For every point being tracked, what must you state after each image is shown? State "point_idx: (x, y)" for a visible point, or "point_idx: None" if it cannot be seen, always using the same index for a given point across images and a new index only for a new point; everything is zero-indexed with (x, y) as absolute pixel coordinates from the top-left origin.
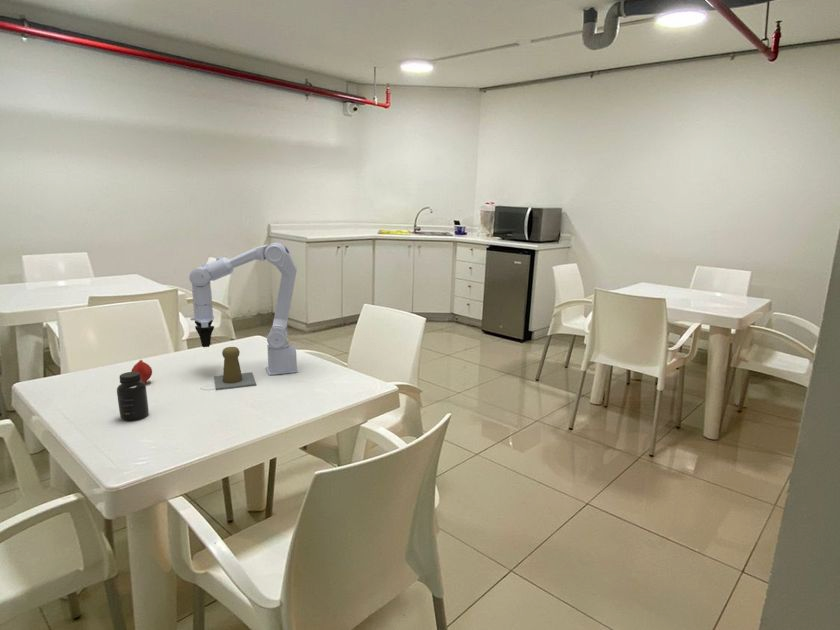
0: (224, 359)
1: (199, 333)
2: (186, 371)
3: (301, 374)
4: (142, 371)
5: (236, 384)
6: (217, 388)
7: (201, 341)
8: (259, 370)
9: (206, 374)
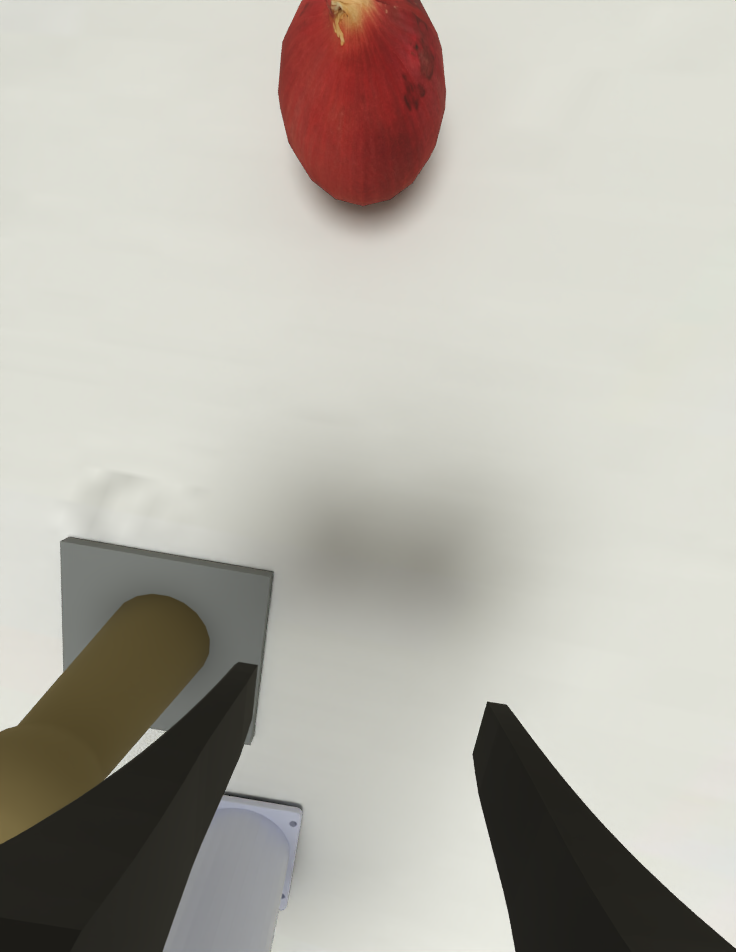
0: (54, 712)
1: (58, 822)
2: (479, 461)
3: None
4: (280, 84)
5: (86, 639)
6: (60, 548)
7: (192, 709)
8: (293, 775)
9: (358, 550)
